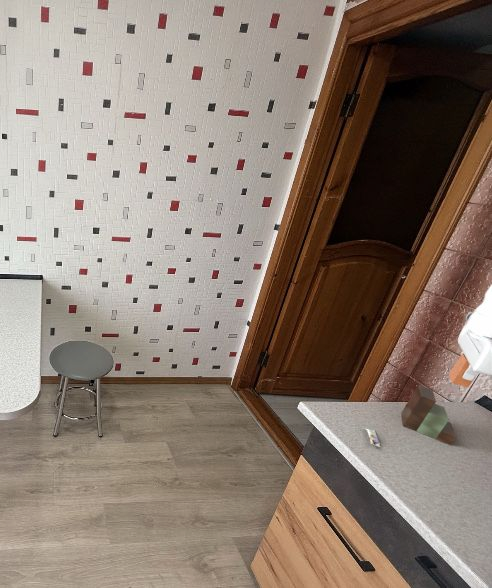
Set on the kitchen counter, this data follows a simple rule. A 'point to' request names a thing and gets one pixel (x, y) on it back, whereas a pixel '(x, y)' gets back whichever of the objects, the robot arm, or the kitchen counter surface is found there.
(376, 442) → the granola bar
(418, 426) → the step rack
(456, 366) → the matte orange cuboid
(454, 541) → the kitchen counter surface
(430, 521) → the kitchen counter surface
